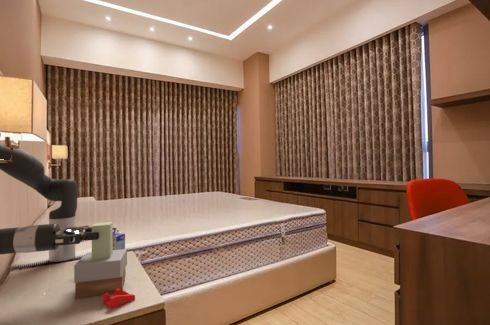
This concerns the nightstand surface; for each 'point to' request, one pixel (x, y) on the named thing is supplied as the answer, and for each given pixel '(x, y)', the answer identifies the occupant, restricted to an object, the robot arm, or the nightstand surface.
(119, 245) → the ink cartridge box
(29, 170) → the robot arm
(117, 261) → the slate grey top block
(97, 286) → the walnut base block
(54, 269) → the nightstand surface
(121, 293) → the red lumpy piece
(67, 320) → the nightstand surface
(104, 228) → the sage green tall block
